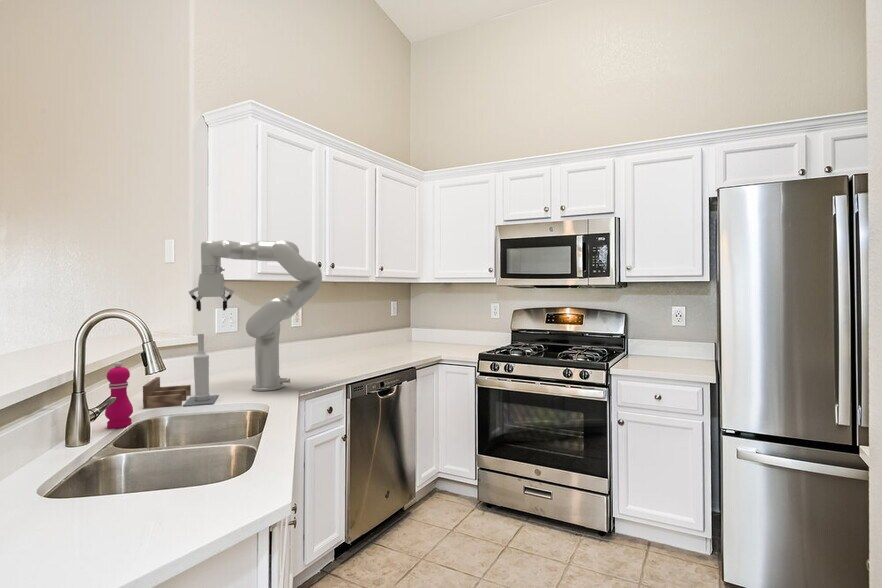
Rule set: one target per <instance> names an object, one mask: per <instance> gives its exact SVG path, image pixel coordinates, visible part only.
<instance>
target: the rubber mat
mask: <svg viewBox="0 0 882 588" xmlns="http://www.w3.org/2000/svg"><path fill="white" fill-rule="evenodd" d="M219 397H220V395H219V394H213V395H211V394H210V397H209V400H205V401H195V397H194V396H190V397H189V398H188V399H187V400H185V401H186V402H185V403H184V404H182V407H183V408H184V407H195V406H196V407H199V406H209V405H215V402H216V401H217V399H218V398H219Z"/></svg>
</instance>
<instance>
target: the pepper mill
mask: <svg viewBox="0 0 882 588" xmlns="http://www.w3.org/2000/svg"><path fill="white" fill-rule="evenodd" d="M130 377H131V372H130V370H129V369H128V368H127V367H125V366H122V362H121V361H117V362H115V363H114V367H111V368H110V369H109V370H108V371H107V372H106V380H107V381H108V382H109V383H108V386H109V387H108V389H110V397H117V400H116V401H115V403H113V404H112V405H110V406H109V407H107V406H106V407H107V408H106V407H105V411H104V416H105V418H106V419H108V421H107V422H106V426H107V429H113V430H114V429H115V430H116V429H123V428H126V427H129V426H131V425H132V418H131V417H130V416H132V414H133V413H134V408H133V405H132V402H131V401H130V399H129V396H128V393H127V392H128V391H127V388H128V387H129V381H128V380H129V378H130ZM110 397H109V398H110Z"/></svg>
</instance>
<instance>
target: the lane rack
mask: <svg viewBox="0 0 882 588" xmlns="http://www.w3.org/2000/svg"><path fill="white" fill-rule="evenodd" d="M191 388H192V385H191V384H184V385H183V384H181V385H172V386H171V385H170V386H161V376H156V377H154V378H153V379H151V380H150V381H148V382H147V383H145V384H144V385H143V386H142V402H143V403H142V406H143V407H142V409H144V410H145V409H157V408H171V407H181V406H183V401H187V400H188V399H187V397H189V396H192V395H191V394H192V389H191Z"/></svg>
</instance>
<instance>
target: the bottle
mask: <svg viewBox="0 0 882 588" xmlns="http://www.w3.org/2000/svg"><path fill="white" fill-rule="evenodd" d="M204 338H205V334H204V333H197V347H198V348H197V351H196V354H195V355H194V356H193V375H194V396H193V397H195V401H205V400H209V397H210V395H211V394H210V389H209V388H210V383H209V382H210V374H209V373H210V372H209V371H210V370H209V369H210V368H209V367H210V357H209V354H207V353H206V351H205V344H204V343H205V341H204Z"/></svg>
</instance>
